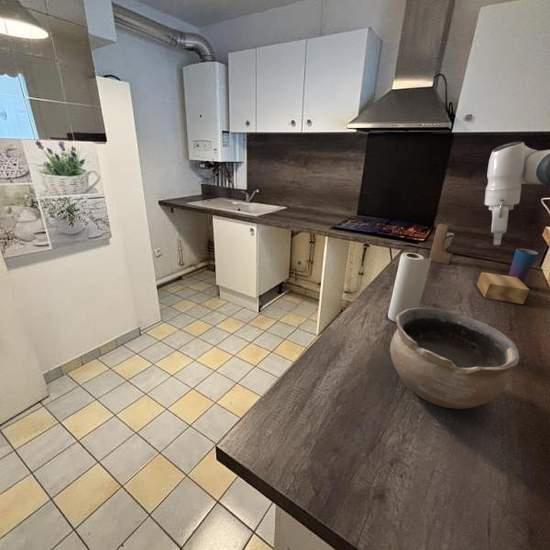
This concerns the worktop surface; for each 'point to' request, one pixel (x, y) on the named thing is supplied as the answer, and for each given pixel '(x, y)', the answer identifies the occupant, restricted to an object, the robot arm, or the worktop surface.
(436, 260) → the wooden block
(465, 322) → the ceramic bowl
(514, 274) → the cup
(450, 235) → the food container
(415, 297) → the paper towel roll
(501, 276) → the riser
